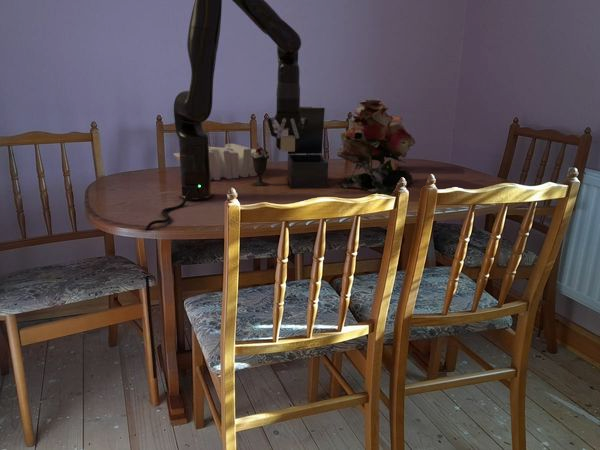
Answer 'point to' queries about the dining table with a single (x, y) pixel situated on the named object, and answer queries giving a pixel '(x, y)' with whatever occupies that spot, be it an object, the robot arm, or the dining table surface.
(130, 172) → the dining table surface
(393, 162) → the cracker box
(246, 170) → the wavy white extrusion
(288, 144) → the block
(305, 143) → the lid
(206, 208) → the dining table surface
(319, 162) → the chest
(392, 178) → the rose bouquet
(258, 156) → the sundae
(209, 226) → the dining table surface
